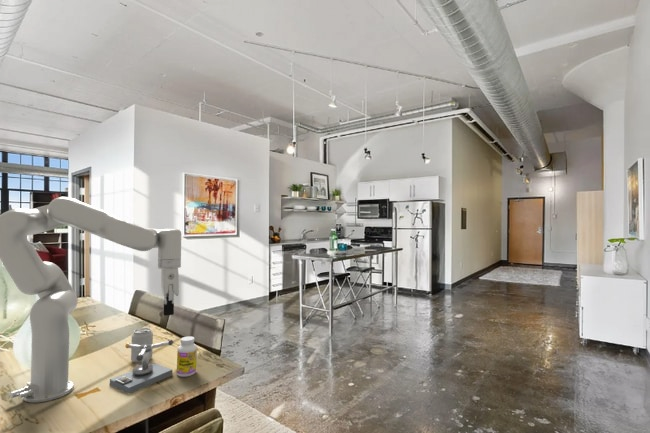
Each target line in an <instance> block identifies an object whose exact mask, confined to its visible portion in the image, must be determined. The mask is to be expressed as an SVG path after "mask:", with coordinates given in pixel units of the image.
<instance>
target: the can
mask: <svg viewBox="0 0 650 433" xmlns="http://www.w3.org/2000/svg"><path fill="white" fill-rule="evenodd" d="M153 339H154V332H153V331H152V328H149V327H141V328H136V329H134V330H133V333H132V334H131V342H130V344H136V345H143V344H151V345H153V344H154V343H153ZM139 354H140V350H139V349H132V348H130V360H131V361H132V362H133V363H135V364H142V360H141V361H138V360H137V359H136V357H137V356H138V355H139ZM152 358H153V349H151V351H150V352H149V361H150V360H151V359H152Z"/></svg>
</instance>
